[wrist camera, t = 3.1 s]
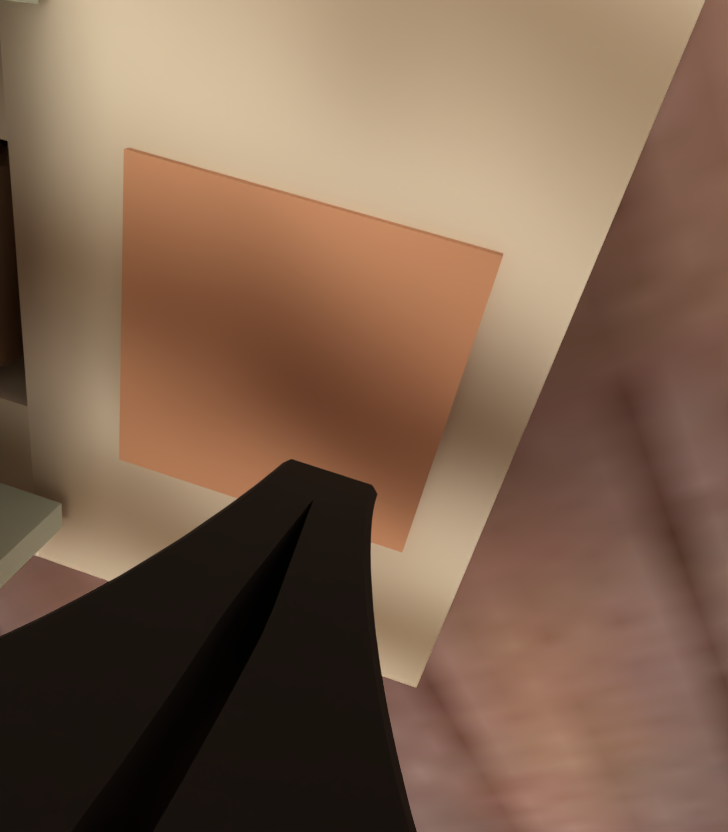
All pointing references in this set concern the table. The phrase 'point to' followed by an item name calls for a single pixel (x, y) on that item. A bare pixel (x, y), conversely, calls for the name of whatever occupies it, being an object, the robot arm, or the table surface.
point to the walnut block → (8, 271)
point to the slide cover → (24, 518)
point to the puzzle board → (306, 256)
